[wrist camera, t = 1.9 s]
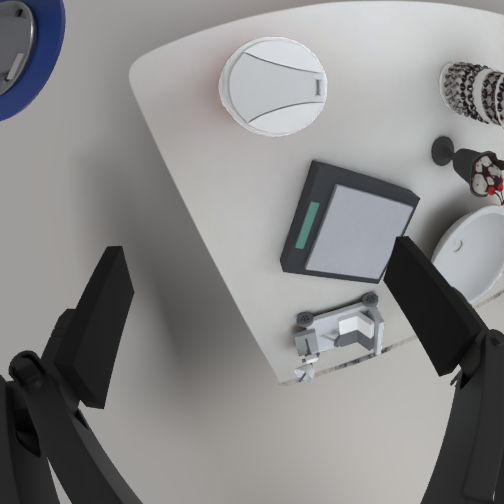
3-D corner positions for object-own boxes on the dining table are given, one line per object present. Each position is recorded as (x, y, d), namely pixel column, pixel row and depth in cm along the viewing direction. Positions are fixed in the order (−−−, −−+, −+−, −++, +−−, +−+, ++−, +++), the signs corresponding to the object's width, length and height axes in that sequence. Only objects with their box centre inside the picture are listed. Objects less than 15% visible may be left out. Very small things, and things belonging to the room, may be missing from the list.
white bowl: (409, 309, 56) (423, 332, 50) (403, 215, 43) (424, 236, 38) (489, 266, 53) (505, 283, 47) (498, 173, 40) (521, 188, 34)
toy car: (300, 393, 51) (290, 362, 45) (291, 354, 59) (280, 318, 53) (390, 365, 50) (396, 328, 43) (373, 329, 58) (374, 290, 51)
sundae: (428, 175, 39) (491, 221, 27) (425, 134, 36) (495, 170, 23) (457, 166, 39) (520, 207, 26) (455, 128, 35) (525, 160, 23)
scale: (279, 260, 46) (284, 275, 42) (312, 160, 37) (320, 169, 34) (371, 273, 49) (380, 287, 46) (410, 190, 41) (423, 200, 38)
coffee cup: (290, 51, 29) (332, 37, 17) (291, 114, 34) (332, 139, 21) (218, 53, 29) (215, 35, 16) (222, 117, 33) (221, 143, 21)
